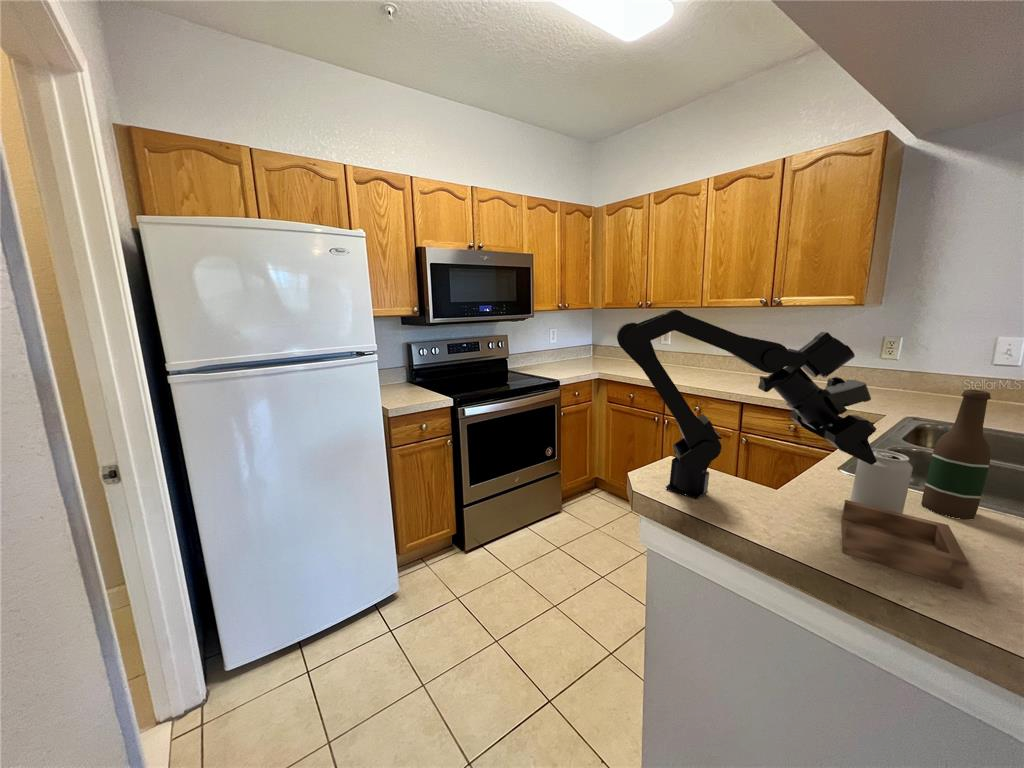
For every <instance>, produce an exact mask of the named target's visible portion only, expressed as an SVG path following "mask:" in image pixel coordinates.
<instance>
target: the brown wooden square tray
mask: <svg viewBox="0 0 1024 768" xmlns="http://www.w3.org/2000/svg"><path fill="white" fill-rule="evenodd" d="M840 523H841V530H840V531H841V553H844V554H848V555H851V556H853V557H857V558H859V559H863V560H867V561H870V562H873V563H876V564H880V565H883V566H886V567H889V568H893V569H897V570H900V571H903V572H906V573H909V574H913V575H916V576H919V577H921V578H925V579H929V580H932V581H935V582H938V583H942V584H944V585H945V584H946V585H948V586H952V587H955V588H957V589H963V586H964V583H965V578H966V575H967V571H968V568H969V565H970V563H969V560H968V558H967V557H966V556H965V553H964V552H963V550H962V548H961V546H960V544H959V542H958V540H957V538H956V536H955V534H954V533H953V531H952V529H951V527H950V525H949V524H945V523H941V522H937V521H934V520H930V519H926V518H923V517H918V516H913V515H911V514H910V515H909V514H904V513H903V514H902V513H897V512H893V511H889V510H885V509H881V508H877V507H873V506H869V505H865V504H861V503H857V502H852V501H850V500H848V499H845V500H844V503H843V509H842V514H841V521H840Z"/></svg>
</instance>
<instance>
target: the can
mask: <svg viewBox="0 0 1024 768" xmlns="http://www.w3.org/2000/svg"><path fill="white" fill-rule="evenodd" d="M871 449H872V451H873V454H874V456H875V458H876V460H877V462H876V463H874V464H872V465H870V464H868V463H866V462H864V461H862V460H860V459H858V458H857V463H856V469H855V473H854V480H853V485H852V490H851V495H850V500H849V501H852V502H857V503H861V504H865V505H869V506H873V507H877V508H881V509H885V510H889V511H893V512H897V513H902V514H904V509H905V504H906V500H907V496H908V491H909V486H910V483H911V482H910V481H911V477H912V474H913V469H914V467H913V466H912V464H911V463H910V462H909V461H910V458H909V456H907V455H905V454H902V453H899V452H896V451H891V450H886V449H883V448H882V449H881V448H871Z"/></svg>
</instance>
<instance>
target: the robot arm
mask: <svg viewBox="0 0 1024 768" xmlns="http://www.w3.org/2000/svg"><path fill="white" fill-rule="evenodd" d="M674 331H675V332H677V333H680V334H682V335H684V336H685V335H686V336H687V337H690V338H693V339H696V340H698V341H700V342H703V343H706V344H709V345H711V346H713V347H715V348H718V349H721V350H723V351H726V352H727V353H729V354H730V355H732V356H733V357H735V358H736V359H738V360H739V361H741V362H743V363H744V364H746V365H747V366H748V367H749V366H750V367H752V368H753V369H756V370H758V371H761V372H763V373H767V374H769V375H768V376H763V375H761V376H759V383H758V386H757V388H758V390H761V391H762V392H764V393H768V392H770V391H771V390H772V389H774V391H776V392H777V393H778V395H779V396H781V398H782V399H783V400H784V401H785V402H786V406H787V407H788V408H789V409H791V411H790V416H789V417H790V418H791V419H792V421H794V422H795V423H796V424H797V425H799V426H800V427H801V428H803V429H805V430H807V431H809V432H810V433H812V434H813V435H814V434H815V435H816V436H818V437H820V438H822V439H823V440H826V441H827V442H829V444H831V445H832V446H833V447H834V448H836V449H838V450H839V451H841V452H843V453H845V454H848V455H849V456H850V457H851V456H852V457H854V458H856V459H857V460H858V459H860V460H862V461H864V462H866V463H868V464H870V465H872V464H874V463H876V462H877V460H876V458H875V456H874V454H873V451H872V449H873V448H872V447H871V444H870V442H869V438H870V436H872V435H873V434H874V433H876V432H877V428H876V426H874V424H873V423H872V422H871V421H870V420H869V419H866V418H864V417H861V416H859V415H857V414H848V415H846V416H844V417H843V416H839V415H843V414H844V413H846V412H847V411H848V409H847V407H850V406H854V405H856V404H860V403H863V402H864V403H867V402H870V401H871V400H872V396H871V394H870V391H869V388H868V386H867V383H866V382H864V381H860V380H857V379H846V381H845V380H844V379H843V378H842V377H839V376H832V377H830V378H827V377H828V376H830V375H831V374H833V373H834V372H835V371H837V370H838V369H840V368H841V367H843V366H844V365H846V364H847V363H848V362H850V361H852V360H853V359H854V358H855V356H856V355H855V353H854V351H853V349H851V347H850V346H849V345H847V344H845V343H843V342H842V341H840V340H839V339H838V338H836V337H833V336H832V335H831V334H830V332H827V331H826V332H824V331H821V332H819V333H818V334H817V335H816V336H814V337H813V339H812V340H811V341H809V342H808V343H806V344H805V345H804V346H802V347H800V348H799V349H798V350H797V349H793V348H787V347H786V346H785V345H784V344H782V343H778V342H774V341H769V340H764V339H759V338H755V337H749V336H746V335H745V336H744V335H740V334H738V333H735V332H732V331H730V330H727V329H724V328H722V327H719V326H717V325H715V324H712V323H709V322H707V321H705V320H701V319H699V318H696V317H694V316H691V315H689V314H686V313H684V312H683V311H682V310H679V309H670V310H667V311H665V312H664V313H662V314H659V315H656V316H653V317H651V318H648V319H646V320H643V321H641V322H633V321H630V322H625V323H623V324H622V325H621V326H620V327H619V328H618V330H617V332H616V341H617V343H618V345H619V347H620V348H621V349H622V350H623V351H624V352H625V353H626V354H627V355H628V357H630V358H631V359H632V361H634V362H635V363H636V364H637V365H638V366H639V367H640V368H641V370H642V371H643V372H644V374H645V375H646V377H647V379H648V380H649V381H650V383H651V385H652V386H653V387H654V389H655V390H656V392H657V393H658V395H659V396H660V399H662V401H663V402H664V404H665V405H666V407H667V408H668V410H669V411H670V413H671V414H672V416H673V417H674V419H675V420H676V423H677V426H678V429H679V431H680V433H681V437H682V438H681V439H679V440H678V441H676V442H675V443H673V444H672V449H673V452H674V455H675V457H674V458H672V459H671V465H670V473H669V474H670V476H669V483H668V484H667V485H666V487H665V489H666V488H667V489H666V490H668V489H669V490H668V491H671V490H672V491H671V492H674V491H675V492H674V493H677V492H679V493H678V494H680V493H682V494H681V495H683V494H686V495H688V496H687V497H689V496H691V497H690V498H692V497H695V498H694V499H696V498H698V497H699V496H700V495H701V494H702V495H704V494H705V493H706V492H707V491H708V489H709V487H708V486H709V479H710V472H709V471H708V468H709V467H710V465H711V463H712V462H713V460H716V459H717V458H718V456H719V455H720V454H721V451H722V449H723V446H722V444H721V441H720V440H722V439H723V437H722V436H721V435H720V434H719V433H718V432H717V431H716V430H715V428H714V426H713V424H712V421H711V420H710V419H709V418H708V417H707V416H706V415H705V414H704V413H703V414H701V415H700V416H699V417H698V415H696V414H695V413H694V412H693V410H692V409H691V407H690V406H689V404H688V402H687V401H686V400H685V398H684V397H683V395H682V393H681V392H680V391H679V389H678V387H677V386H676V384H675V383H674V382H673V380H672V379H671V377H670V375H669V374H668V372H667V371H666V369H665V368H664V367H663V364H661V362H660V360H659V358H658V357H657V355H656V352H655V348H654V346H653V343H652V342H651V341H653V340H655V339H658V338H659V337H662V336H664V335H667V334H668V333H672V332H674ZM808 374H809V375H810V376H811V377H813V378H817V377H818V376H820V377H822V378H827V381H826V386H825V387H824V389H823V388H821V387H819V386H818V385H817V383H816V382H814V381H813V379H812V378H810V376H809V375H808ZM686 495H685V496H686ZM702 495H701V496H702ZM701 496H700V497H701ZM700 497H699V498H700ZM699 498H698V499H699Z"/></svg>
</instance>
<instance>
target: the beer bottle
mask: <svg viewBox="0 0 1024 768" xmlns="http://www.w3.org/2000/svg"><path fill="white" fill-rule="evenodd" d="M961 396H962V397H963V398H962V401H961V403H960V406H959V409H958V411H957V415H956V419H955V422H954V423H953V425H952V427H951V429H950V430H948V431H947V432H945V433H944V434H942V436H941V437H940V438H939V439H938V440H937V442H936V444H935V445H934V449H933V452H932V455H931V459H930V463H929V468H928V471H927V475H926V480H925V484H924V488H923V493H922V497H921V498H922V499H921V506H922V507H923V506H924V507H923V508H925V507H926V508H925V509H927V508H928V509H927V510H929V509H930V510H929V511H931V510H932V511H931V512H933V511H934V512H935V514H937V513H939V514H938V515H941V514H943V515H942V516H944V515H947V516H946V517H948V516H950V517H949V518H951V517H954V518H953V519H955V518H960V519H959V520H966V519H973V520H974V519H975V518H976V515H977V512H978V509H979V506H980V502H981V498H982V495H983V494H982V493H983V491H984V487H985V483H986V479H987V475H988V471H989V468H990V464H991V463H990V462H991V457H992V451H991V447H990V444H989V442H988V440H987V439H986V437H985V436H984V423H985V417H986V412H987V404H988V401H989V400H990V399H991V393H990V392H989V391H985V390H979V389H964V390H963V392H962V393H961ZM934 512H933V513H934Z"/></svg>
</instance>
